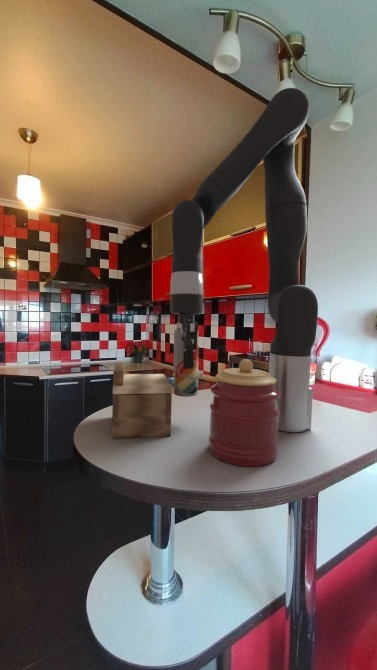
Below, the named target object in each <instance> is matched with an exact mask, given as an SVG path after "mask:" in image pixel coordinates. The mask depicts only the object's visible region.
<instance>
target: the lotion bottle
mask: <svg viewBox="0 0 377 670" xmlns="http://www.w3.org/2000/svg"><path fill="white" fill-rule="evenodd" d="M195 316H196V314H194V321H195V319H196V318H195ZM177 318H178V319H177V322H178V328H179V322H183V315H182V314H177ZM182 332H183V336H184V337H185V332H184V330H182ZM188 344H192V341H188ZM183 361H184V352H183V342H182V341H181V330H180V329H177V328H175V329H174V331H173V394H174V395H175V396H177V397H185V398H187V397H194V396H197V395H198V393H199V334H198V335H197V349H196V350H195V351H194V361H193V368H189V369H185V368H184V367H183Z"/></svg>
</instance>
